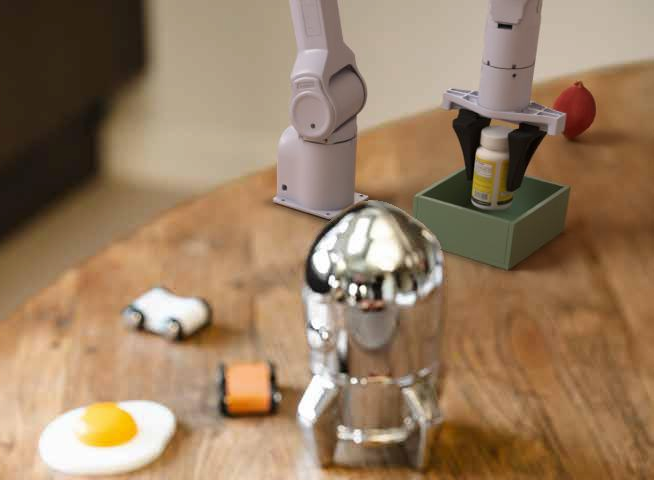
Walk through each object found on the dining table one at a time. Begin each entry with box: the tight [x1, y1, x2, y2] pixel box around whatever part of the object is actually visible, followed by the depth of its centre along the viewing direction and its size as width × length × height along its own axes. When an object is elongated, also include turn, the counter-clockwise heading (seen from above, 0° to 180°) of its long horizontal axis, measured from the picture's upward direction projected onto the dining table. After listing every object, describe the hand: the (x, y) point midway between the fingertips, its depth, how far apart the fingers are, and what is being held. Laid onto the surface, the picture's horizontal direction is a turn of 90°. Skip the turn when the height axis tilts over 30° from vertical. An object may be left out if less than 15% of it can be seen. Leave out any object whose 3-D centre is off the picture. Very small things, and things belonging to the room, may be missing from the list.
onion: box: [552, 79, 597, 140], centre depth 164 cm, size 6×6×8 cm
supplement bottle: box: [471, 124, 516, 210], centre depth 138 cm, size 5×5×8 cm
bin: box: [411, 165, 572, 271], centre depth 142 cm, size 13×13×6 cm
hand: (493, 183), depth 139 cm, fingers closed on supplement bottle, 5 cm apart
